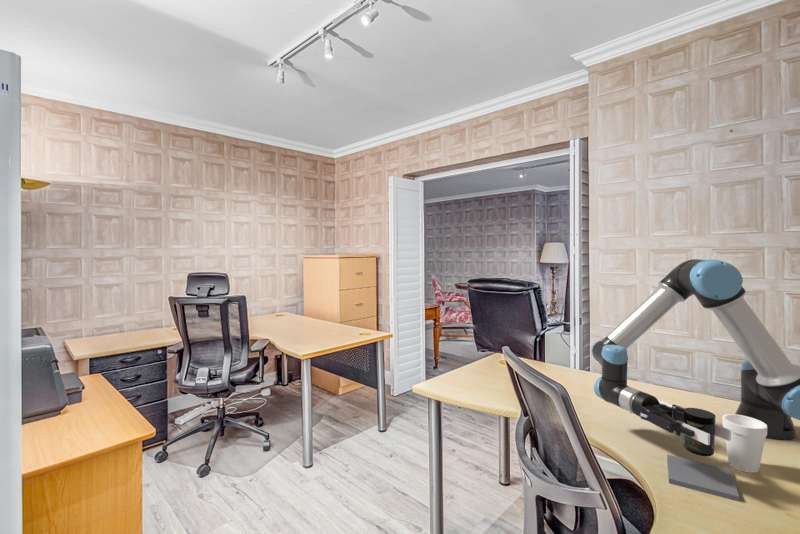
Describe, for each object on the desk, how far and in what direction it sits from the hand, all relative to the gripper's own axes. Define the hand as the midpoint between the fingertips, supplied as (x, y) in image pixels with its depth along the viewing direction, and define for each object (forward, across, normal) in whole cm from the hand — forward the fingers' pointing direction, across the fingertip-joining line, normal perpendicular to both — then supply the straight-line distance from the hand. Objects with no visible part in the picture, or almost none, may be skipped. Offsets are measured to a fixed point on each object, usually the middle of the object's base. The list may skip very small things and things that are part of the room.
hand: (719, 437), depth 97 cm
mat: (-5, 0, -13) cm, 14 cm away
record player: (-41, -32, -14) cm, 54 cm away
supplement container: (-5, 0, -6) cm, 8 cm away
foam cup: (-5, -18, -14) cm, 23 cm away
